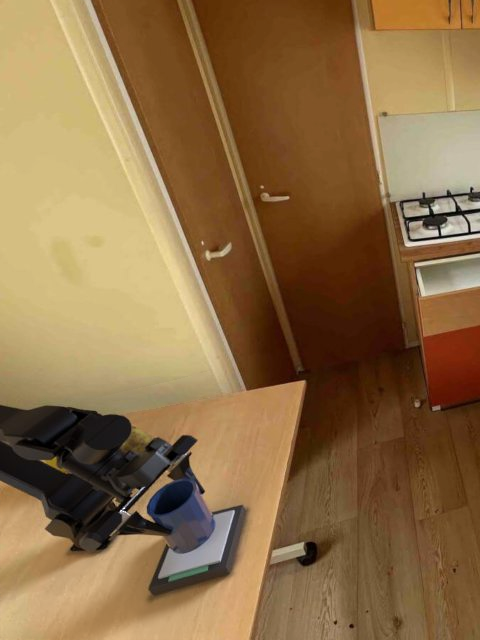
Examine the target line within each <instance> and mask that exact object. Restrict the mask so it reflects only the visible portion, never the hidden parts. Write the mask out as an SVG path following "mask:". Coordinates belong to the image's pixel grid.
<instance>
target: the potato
mask: <svg viewBox="0 0 480 640" xmlns="http://www.w3.org/2000/svg"><path fill="white" fill-rule="evenodd" d="M154 438H155V437H153V436H152V435H150V434H149V433H147V432H145V431H143V430H142V429H140V428H138V427H136V426H134V425H132V432H131V434H130V436H129V438H128V439H127V440H126V442H125V443H124V444H123V445H122V446H121V447H120V448H121V449H123V450H125V451H126V452H128V451H129V450H131V451H135V452H136V453H139V454H142V453H143V452H144V451H145V450H146V449H145V446H146V445H147V444H148V443H150V442H151V441H152V440H153V439H154Z"/></svg>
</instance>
